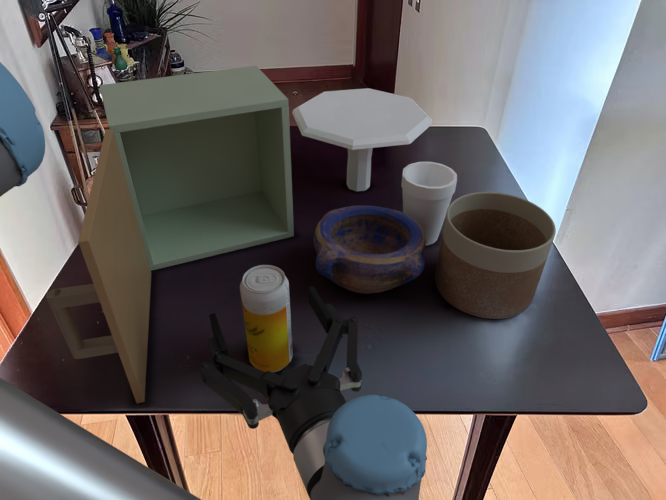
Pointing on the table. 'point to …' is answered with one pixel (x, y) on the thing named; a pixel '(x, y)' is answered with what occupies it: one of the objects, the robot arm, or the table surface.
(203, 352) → the table surface
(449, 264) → the planter
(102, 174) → the cupboard door
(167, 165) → the cupboard
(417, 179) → the foam cup
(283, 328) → the beer can
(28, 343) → the table surface
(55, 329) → the table surface
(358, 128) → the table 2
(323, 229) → the bowl
